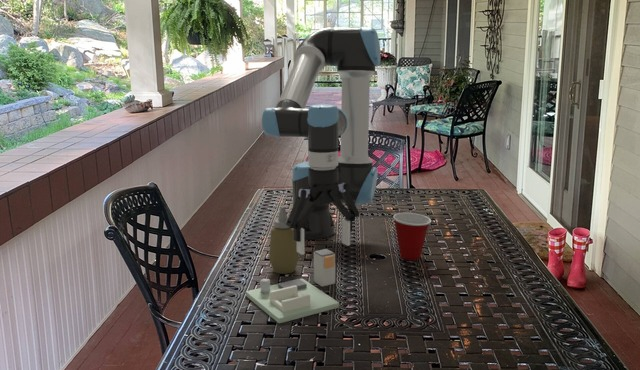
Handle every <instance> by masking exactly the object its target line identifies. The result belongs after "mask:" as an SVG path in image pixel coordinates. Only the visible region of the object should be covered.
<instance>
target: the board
mask: <svg viewBox="0 0 640 370" xmlns="http://www.w3.org/2000/svg"><path fill="white" fill-rule="evenodd" d="M259 285H260V287H259V288H255V289H250V290H246V291H245V297H247V298H248V300H250V301H252V302H253V303H254V304H255V305H256V306H257V307H258V308H259V309H261V310H262V311H263V312H265V314H266V315H268V316H269V317H270V318H272V319H273V320H274V321H276V323H278V324H283V323H286V322H289V321H293V320H297V319H301V318H305V317H308V316H311V315H315V314H320V313H323V312H327V311H331V310H335V309H339V308H340V302H338V301H337V300H336V299H334V298H333V297H331V296H330V295H328V294H327V293H326V292H324V291H322V290H320V289H319V288H318V287H316V286H314V284H311V283H310V282H308V281H307V280H305V279H304V278H302V277H300V278H297V279H292V280H287V281H284V282H283V281H282V282H279V283H276V284H271V279H269V278H261V279H260V284H259Z"/></svg>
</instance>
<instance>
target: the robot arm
mask: <svg viewBox="0 0 640 370" xmlns="http://www.w3.org/2000/svg"><path fill="white" fill-rule="evenodd" d="M379 39H380V38H379V35H378V32H377V30H376V29H375V28H373V27H370V26H369V27H368V26H367V27H366V26H345V27H341V26H340V27H339V26H338V27H333V26H329V27H323V28H320V29H317V30H315V31H313V32H312V33H311V34H309V35H308V36H306V37H305V38H304V39H303V40H302V41H301V42H300V44H299V45H298V46H297V48H296V50H295V52H294V55H293V62H294V64H293V66H292V68H291V71H290V73H289V75H288V79H287V81H285V82H286V83H285V85H284V87H283V90H282V93H281V94H280V96H279V99H278V102H277V104H276V106H274V107H273V106H272V107H266V108H265V109H264V110H263V111H262V114H261V129H262V131H263V133H264V134H265V135H266V136H272V137H278V138H280V137H285V138H286V137H287V138H288V137H289V138H291V137H293V138H295V137H296V138H297V137H298V138H307V144H308V145H307V147H308V150H307V158H308V159H307V160H306V161H303V162H299V163H297V164H295V165H294V166H293V169H292V176H291V177H292V178H291V181H292V208H291V210H290V213H289V215H288V217H287V218H288V220H287V222H286V225H287V226H289V227H291V228H293V229H294V240H295V241H297V252H298V254H299V255H305V251H306V250H305V240H320V239H321V240H322V239H326V238H329V237H331V236H333V235H334V234H335V232H336V229H335V228H336V226H335V222H334V220H333V216H332V214H331V210H330V204H333V205H334V206H335V207H336V209H337V210H338V211H339V212H340V213H341V215H342V216H343V217H344V218H342V219H341V243H342V244H343V245H346V246H351V232H353V223H354V221H356V218H359V216H360V213H359V209H358V208H357V206H356V205H367V204H370V203H371V202H372V200H373V198H374V196H375V192H376V188H377V187H376V186H377V182H378V172H379V170H378V168H377V167H375V166H373V164H374V163H373V162H374V161H373V160H372V158H370V156H369V133H370V132H369V129H370V128H369V127H370V125H369V123H370V89H371V87H370V86H371V85H370V84H371V77H372V76H373V75H375V73H376V67H380V66H381V60H382V59H381V46H380V41H379ZM324 67H336V72H337V73H338V75H339V76H340V78H341V106H340V107H341V108H339V107H338V106H337V105H335V104H329V103H328V104H327V103H326V104H325V103H324V104H323V103H321V104H320V103H319V104H311V105H309V106H308V108H306V107H307V104H308V101H309V98H310V96H311V93H312V90H313V88H314V86H315V83H316V80H317V77H318V74H319V73H320V72H321V71H322V70H323V69H324ZM339 137H340V155H339ZM344 204H345V205H346V206H345V205H344Z"/></svg>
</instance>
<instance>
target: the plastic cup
mask: <svg viewBox="0 0 640 370" xmlns="http://www.w3.org/2000/svg"><path fill="white" fill-rule="evenodd" d="M392 217H393V221H394V225H395V226H394V227H395V231H396V237H397V245H398V251H399V255H400V258H401V259H402V260H406V261H407V260H408V261H415V260H419V259H420V258H421V256H422V252H423V248H424V244H425V239H426V235H427V230H428V228H429V225H430V224H431V222H432V220H431V218H430V217H429V216H426V215H424V214H420V213H415V212H398V213H395V214H393V216H392Z"/></svg>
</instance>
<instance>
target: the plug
mask: <svg viewBox="0 0 640 370" xmlns="http://www.w3.org/2000/svg"><path fill="white" fill-rule="evenodd" d="M313 282H314V283H316V284H317V285H318V286H320V287H326V286H330V285H334V284H336V254H335V252H333V251H332V250H329V249H327V248H323V249H320V250H315V251H314V252H313Z"/></svg>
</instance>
